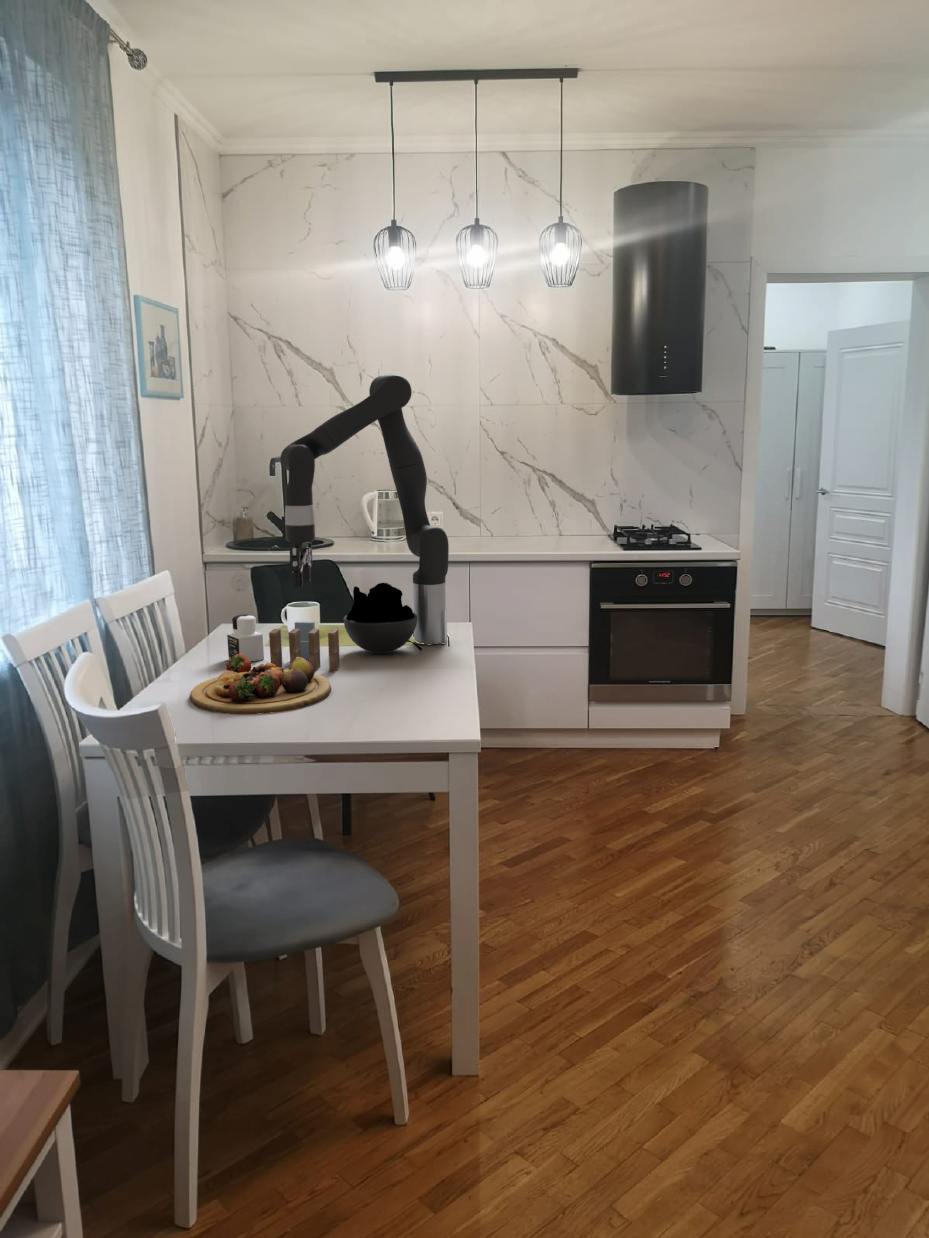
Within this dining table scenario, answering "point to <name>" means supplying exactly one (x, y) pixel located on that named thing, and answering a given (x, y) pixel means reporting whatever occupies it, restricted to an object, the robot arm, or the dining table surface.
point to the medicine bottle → (245, 638)
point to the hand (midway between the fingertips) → (302, 584)
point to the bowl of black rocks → (380, 619)
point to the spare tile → (304, 636)
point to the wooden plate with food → (261, 688)
